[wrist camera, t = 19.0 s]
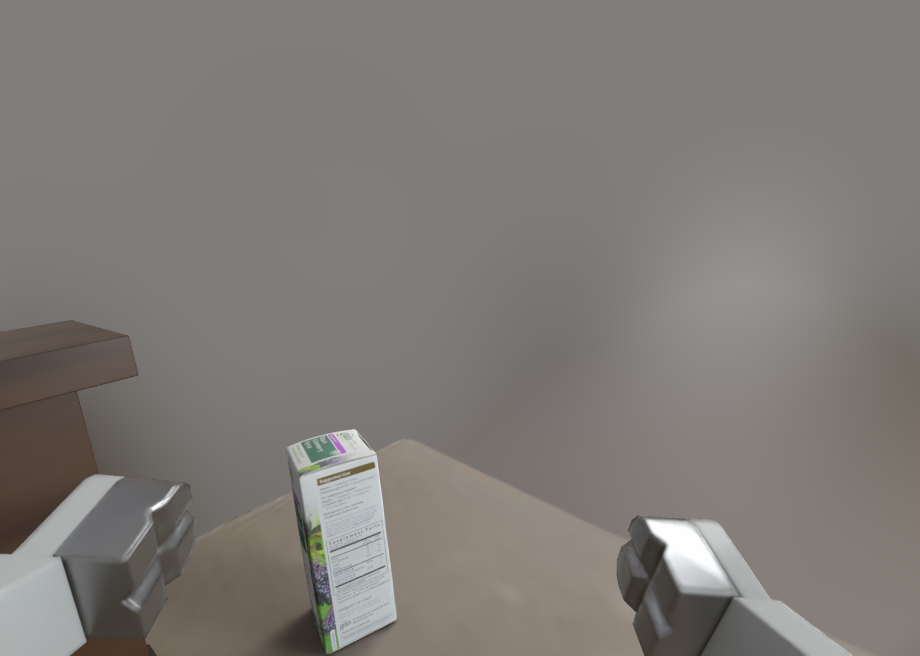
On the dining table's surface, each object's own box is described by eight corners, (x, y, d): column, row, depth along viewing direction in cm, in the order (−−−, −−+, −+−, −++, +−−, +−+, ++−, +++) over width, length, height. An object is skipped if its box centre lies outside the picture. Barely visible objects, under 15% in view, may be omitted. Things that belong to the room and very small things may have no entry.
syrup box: (309, 606, 39) (279, 445, 36) (377, 576, 42) (355, 424, 39) (326, 658, 34) (293, 476, 31) (401, 620, 37) (378, 449, 34)
